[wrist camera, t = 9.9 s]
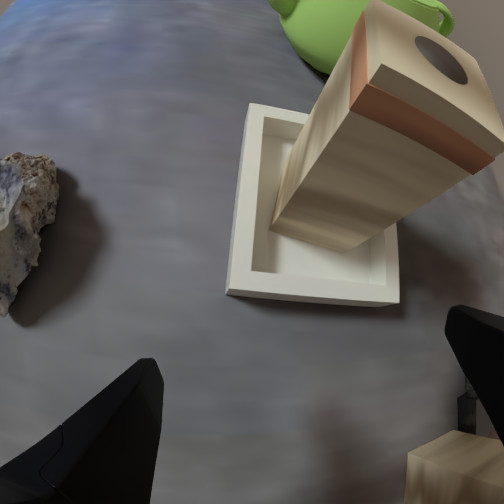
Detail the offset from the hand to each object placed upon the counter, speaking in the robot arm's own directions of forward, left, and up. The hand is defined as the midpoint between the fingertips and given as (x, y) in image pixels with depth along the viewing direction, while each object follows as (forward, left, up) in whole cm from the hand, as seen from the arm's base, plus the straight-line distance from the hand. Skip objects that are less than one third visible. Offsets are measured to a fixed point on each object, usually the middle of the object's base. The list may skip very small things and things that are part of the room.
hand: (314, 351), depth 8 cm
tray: (+9, -3, -9) cm, 13 cm away
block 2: (-10, -15, -9) cm, 21 cm away
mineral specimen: (+5, +17, -10) cm, 20 cm away
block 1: (+9, -3, -9) cm, 13 cm away
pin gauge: (-4, -18, -9) cm, 21 cm away
